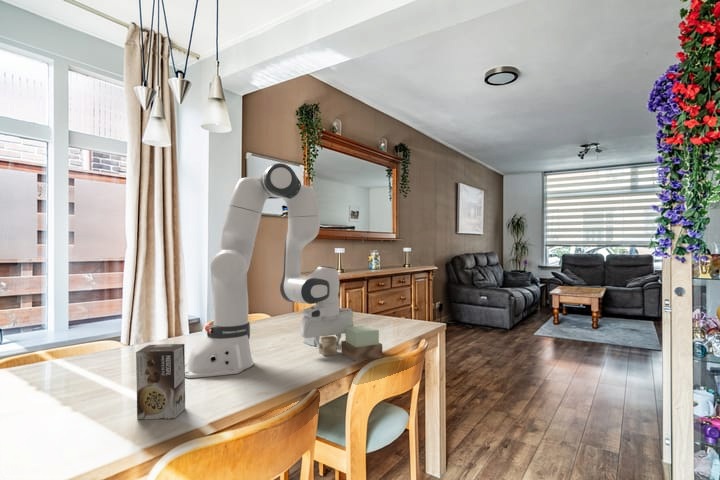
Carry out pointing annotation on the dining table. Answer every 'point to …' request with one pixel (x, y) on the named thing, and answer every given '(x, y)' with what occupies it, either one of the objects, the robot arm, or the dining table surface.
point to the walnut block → (361, 351)
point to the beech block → (328, 345)
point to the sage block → (362, 336)
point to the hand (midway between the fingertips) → (327, 347)
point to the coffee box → (160, 381)
